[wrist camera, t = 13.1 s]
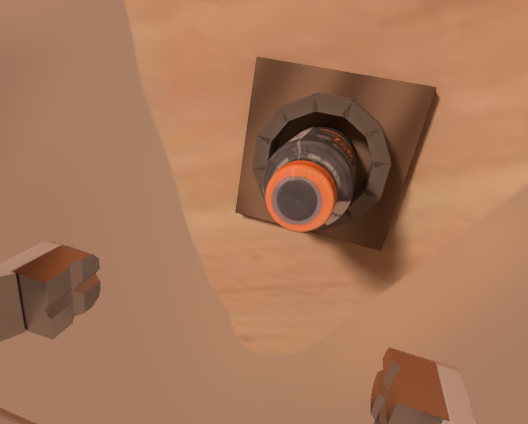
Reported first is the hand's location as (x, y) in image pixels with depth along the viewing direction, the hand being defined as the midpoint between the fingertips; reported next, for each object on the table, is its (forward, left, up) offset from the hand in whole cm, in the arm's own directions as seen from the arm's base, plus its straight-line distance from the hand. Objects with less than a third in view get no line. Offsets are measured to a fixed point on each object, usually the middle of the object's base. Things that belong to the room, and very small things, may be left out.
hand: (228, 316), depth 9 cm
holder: (0, 0, -23) cm, 23 cm away
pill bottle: (0, 0, -22) cm, 22 cm away
